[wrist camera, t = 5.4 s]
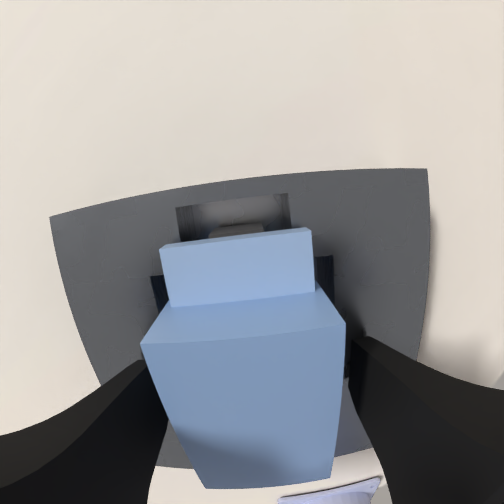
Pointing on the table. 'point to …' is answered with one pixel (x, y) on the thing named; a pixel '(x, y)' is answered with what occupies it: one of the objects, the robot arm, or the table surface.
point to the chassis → (272, 218)
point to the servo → (249, 357)
